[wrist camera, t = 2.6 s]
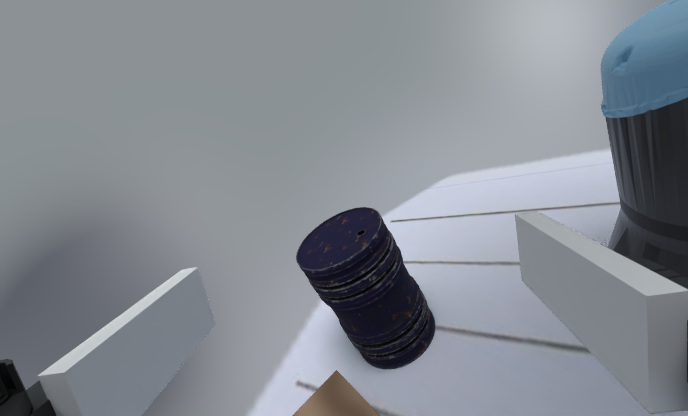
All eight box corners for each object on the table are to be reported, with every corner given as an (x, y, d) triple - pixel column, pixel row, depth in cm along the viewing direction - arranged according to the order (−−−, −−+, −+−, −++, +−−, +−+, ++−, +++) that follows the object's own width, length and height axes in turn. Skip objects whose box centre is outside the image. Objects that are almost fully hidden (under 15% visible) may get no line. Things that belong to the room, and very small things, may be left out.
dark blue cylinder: (346, 365, 41) (278, 273, 35) (373, 300, 48) (321, 214, 41) (425, 375, 35) (361, 267, 29) (444, 299, 42) (395, 199, 36)
